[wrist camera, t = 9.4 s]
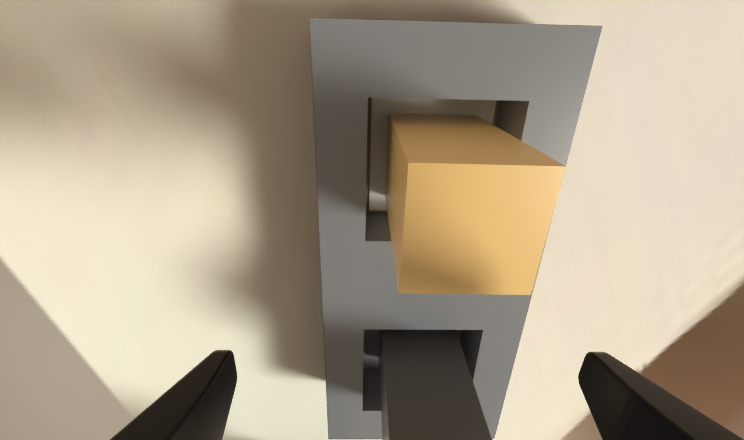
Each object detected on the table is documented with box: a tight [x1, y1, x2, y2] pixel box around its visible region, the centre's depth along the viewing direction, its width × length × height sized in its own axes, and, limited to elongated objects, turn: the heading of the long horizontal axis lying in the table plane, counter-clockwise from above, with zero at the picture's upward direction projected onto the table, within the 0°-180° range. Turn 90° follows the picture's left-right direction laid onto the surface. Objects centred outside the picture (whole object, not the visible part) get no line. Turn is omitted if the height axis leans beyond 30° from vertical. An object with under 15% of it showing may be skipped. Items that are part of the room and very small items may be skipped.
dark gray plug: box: [379, 329, 492, 440], centre depth 18 cm, size 4×4×8 cm
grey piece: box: [310, 18, 602, 439], centre depth 19 cm, size 22×10×4 cm, turn 178°
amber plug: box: [385, 113, 566, 295], centre depth 13 cm, size 4×4×8 cm
